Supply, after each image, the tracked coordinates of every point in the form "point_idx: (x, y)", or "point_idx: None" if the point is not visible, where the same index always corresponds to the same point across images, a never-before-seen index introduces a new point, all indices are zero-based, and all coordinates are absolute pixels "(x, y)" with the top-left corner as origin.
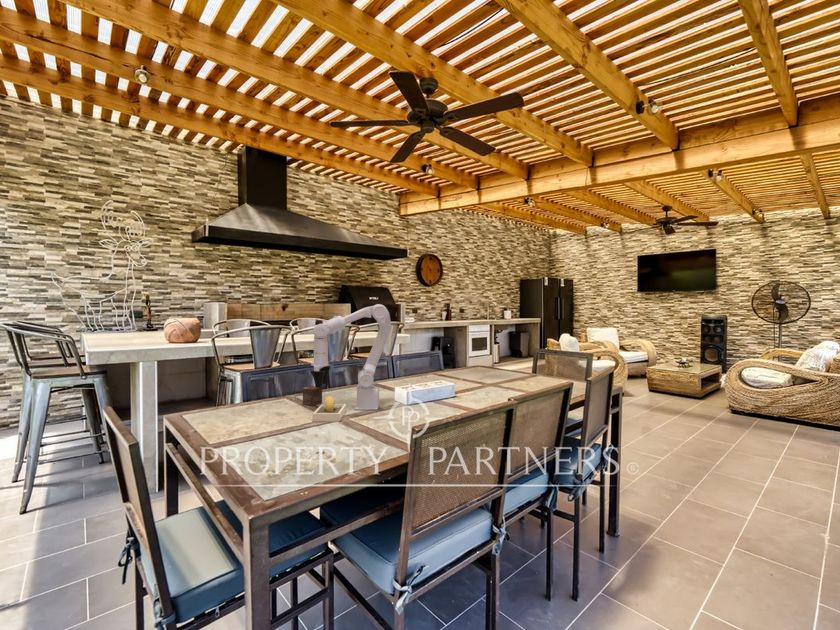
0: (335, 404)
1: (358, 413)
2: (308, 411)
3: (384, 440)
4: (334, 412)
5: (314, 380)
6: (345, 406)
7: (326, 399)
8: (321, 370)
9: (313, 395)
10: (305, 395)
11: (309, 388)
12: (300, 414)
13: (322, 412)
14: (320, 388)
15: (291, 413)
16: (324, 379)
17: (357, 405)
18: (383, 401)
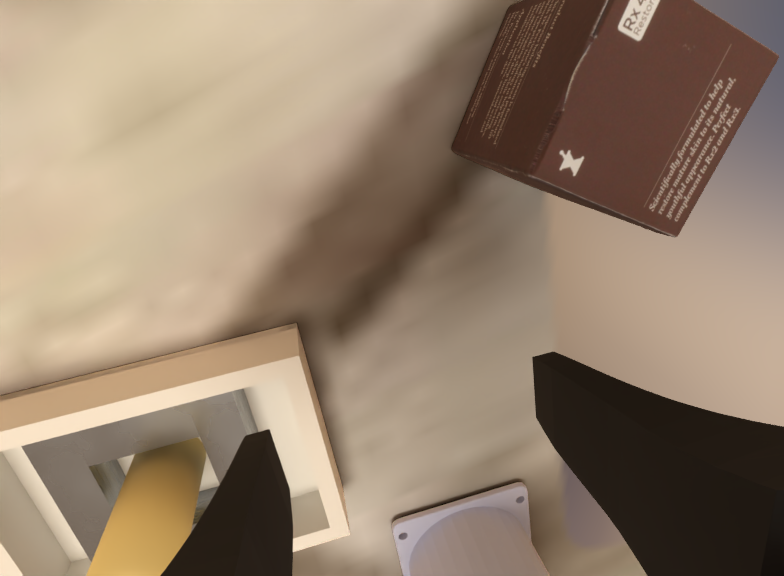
0: (318, 468)
1: (315, 571)
2: (263, 204)
3: None
4: None
5: (193, 531)
6: (309, 539)
7: (88, 572)
8: (705, 541)
9: (509, 172)
10: (539, 41)
11: (589, 104)
12: (132, 179)
13: (52, 477)
14: (643, 226)
15: (130, 56)
16: (573, 449)
17: (437, 535)
18: (624, 564)
